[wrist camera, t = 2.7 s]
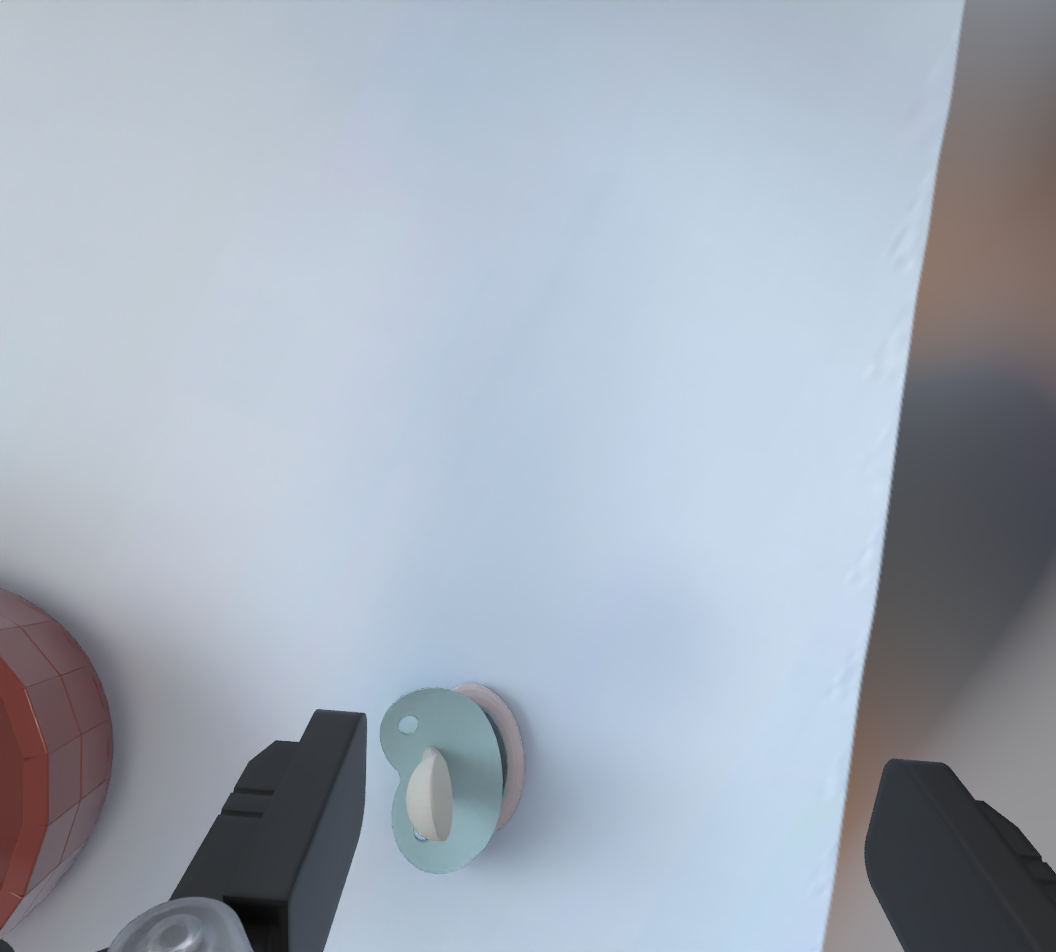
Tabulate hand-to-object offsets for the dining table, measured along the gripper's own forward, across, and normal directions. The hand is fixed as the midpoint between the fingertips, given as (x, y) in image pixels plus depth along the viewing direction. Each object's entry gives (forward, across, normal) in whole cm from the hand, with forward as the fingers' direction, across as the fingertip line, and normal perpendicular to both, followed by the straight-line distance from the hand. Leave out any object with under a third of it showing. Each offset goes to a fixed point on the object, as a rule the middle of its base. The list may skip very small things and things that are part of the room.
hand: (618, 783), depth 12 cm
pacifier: (+19, +4, +14) cm, 24 cm away
